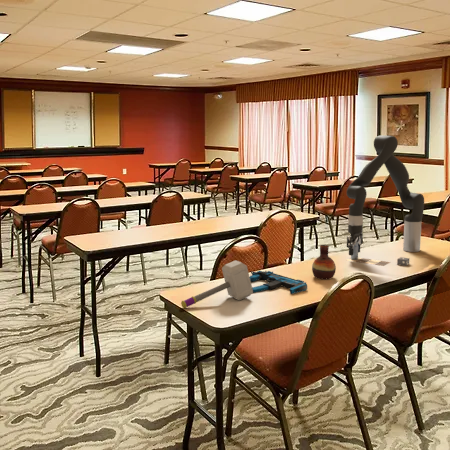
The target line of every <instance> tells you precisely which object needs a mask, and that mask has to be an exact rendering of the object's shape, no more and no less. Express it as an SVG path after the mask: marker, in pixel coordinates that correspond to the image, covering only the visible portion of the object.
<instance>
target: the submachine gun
mask: <svg viewBox="0 0 450 450" xmlns="http://www.w3.org/2000/svg"><path fill="white" fill-rule="evenodd" d="M250 274H251V275H249V277H250V281H251V282H256V281H259V280H262V281H265V280H266V282H265V283H262V284H260V285H256V286H252V289H253V293H252V294H254V293H258V292H263V291H270V290H274V289H277V288H279V287H284V288H285V289H289V293H290V294H291V295H293V294H297V293H300V292H306V291H307V290H308V284H307V282H306V281H304V280H301V279H295V278H291V277H287V276H284V275H280V274H277V273H274V271H270V270H268V271H267V270H265V271H261V270H258V271H253V270H252V271H250Z"/></svg>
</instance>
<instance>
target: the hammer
mask: <svg viewBox="0 0 450 450" xmlns="http://www.w3.org/2000/svg"><path fill="white" fill-rule="evenodd" d="M221 270H222V271H221V272H222V275H223V279H224V283H221V284H219V285H217V286H215V287H213V288H210V289H208V290H206V291H203V292H202V293H199V294H197V295H194V296H191V297H189V298H187V299H185V300H181V303H180V304H181V307H182V308H183V309H187V308H188V307H190V306H192V305H196V304H197V303H199V302H200V301H203V300H204V299H207V298H208V297H211V296H212V295H215V294H217V293H219V292H222V291H224V290H226V291H227V295H228V296H231V297H232V298H234V299H236V300H238V301H241V300H243V299H246V298H249V297H250V296H251V295H253V294H254V293H253V289H252V287H253V286H252V281H250V273H249V269H248V265H246V264H245V263H243V262H241V261H239V260H233V261H231V262H229V263H225V264H224V265H223V266H222V267H221Z"/></svg>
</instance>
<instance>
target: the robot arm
mask: <svg viewBox="0 0 450 450" xmlns="http://www.w3.org/2000/svg"><path fill="white" fill-rule="evenodd" d="M398 142H399V141H398V139H397V137H396V136H393V135H382V134H381V135H378V136H376V137H375V138H374V140H373V148H374V150H375V152H376V153H377V156H375V157H374V159H372V160H370V161H369V162H368V163H367V164H366V165H365V166H364V167H363V168H362V170H361V171H360V173H359V175H358V177H356V178H355V179H354V180H353V181H352V182H351V183H350V184H349V186H348V187H347V188H346V196H347V197H348V198H349V199H352V200H354V203H350V205H348V219H347V233H349V234H350V235H349V236H346V248H348V255H349V256H350V257H351V256H352V255H353V247H354V245H355V244H356V242H357V243H358V253H361V246H362V244H363V243H364V242H363V239H364V238H363V237H364V234H363V227H364V218H363V217H364V215H363V212H364V206H365V201H366V198H367V190H366V188H365V187H367V186H369V185H370V184H371V183H372V181H373V179H374V178H375V176H376V175H377V173H378V171H380V169H381V167H382V166H384V167H385V168H386V171H387V172H388V173H389V176H390V178H391V180H392V182H393V184H394V186H395V188H396V190H397V192H398V195H399V199H400V201H401V203H402V206H403V207H404V208H406V209H408V210H409V209H410V210H411V211H412V212H411V213H410V214H409V213H408V214H406V215H405V216H404V224H403V225H404V227H403V244H402V247H403V249H402V250H403V251H404V252H411V253H413V252H415V253H417V252H420V251H421V242H422V241H421V238H422V237H421V236H422V235H421V234H422V219H423V216H424V209H425V196H424V195H423V194H421V193H418V192H412V191H410V190H409V187H408V183H409V180H410V175H409V171H408V169H407V167H406V165H405V164H404V163H403V162H402V161H401V160H400V159H399V158H398V157H396V156H395V155H394V152H395V151H396V150H397V147H398V144H399V143H398Z"/></svg>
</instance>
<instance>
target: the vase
mask: <svg viewBox="0 0 450 450" xmlns="http://www.w3.org/2000/svg"><path fill="white" fill-rule="evenodd" d="M329 248H330V247H329V245H327V244H320V245H319V256H317V257H316V258H315V259H314V260H313V262H312V265H311V272H312V274H313V276H314V278H316V279H317V280H324V281H325V280H331V279H332V278H334V277H335V273H336V268H337V267H336V263H335V261H334V260H333V258H332V257H330V256H329Z"/></svg>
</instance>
